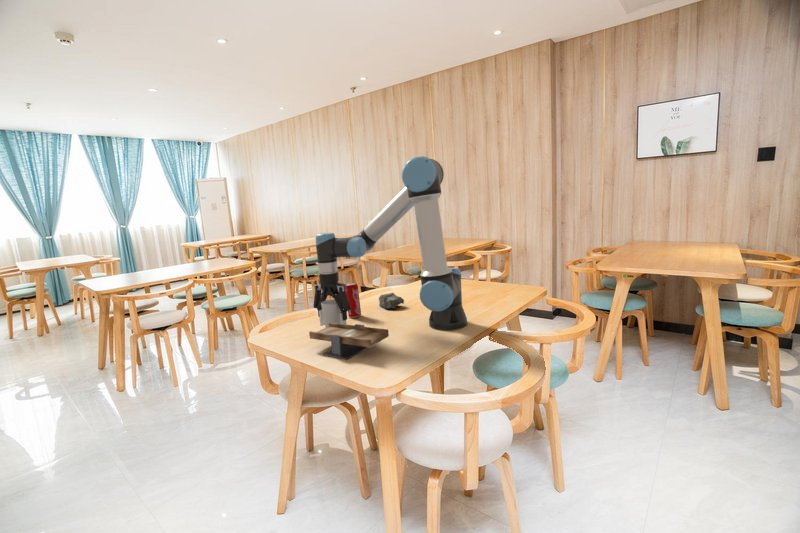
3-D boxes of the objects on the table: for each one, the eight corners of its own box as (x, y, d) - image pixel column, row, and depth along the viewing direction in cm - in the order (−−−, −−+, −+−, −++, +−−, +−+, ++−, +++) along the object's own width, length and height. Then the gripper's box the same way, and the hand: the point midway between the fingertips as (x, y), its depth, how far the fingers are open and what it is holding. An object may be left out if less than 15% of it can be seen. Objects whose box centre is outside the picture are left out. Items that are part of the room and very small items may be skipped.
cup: (339, 334, 158) (337, 304, 156) (320, 333, 160) (317, 304, 158) (346, 327, 166) (343, 299, 164) (328, 327, 168) (325, 299, 166)
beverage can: (356, 319, 177) (353, 285, 174) (344, 317, 180) (341, 284, 178) (364, 315, 182) (361, 282, 179) (352, 313, 185) (350, 281, 183)
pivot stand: (374, 343, 146) (373, 325, 144) (346, 360, 132) (345, 340, 131) (352, 339, 151) (350, 322, 150) (323, 355, 137) (321, 336, 136)
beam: (388, 336, 139) (388, 329, 138) (370, 347, 129) (369, 340, 129) (330, 328, 152) (330, 322, 152) (309, 338, 143) (309, 331, 142)
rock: (407, 306, 192) (406, 293, 191) (397, 311, 185) (396, 297, 184) (383, 304, 199) (382, 291, 198) (373, 309, 192) (372, 295, 191)
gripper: (357, 271, 156) (361, 326, 160) (313, 269, 168) (318, 320, 172) (345, 275, 150) (350, 332, 154) (300, 272, 162) (306, 326, 165)
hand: (333, 326), depth 163 cm, fingers open, 10 cm apart
